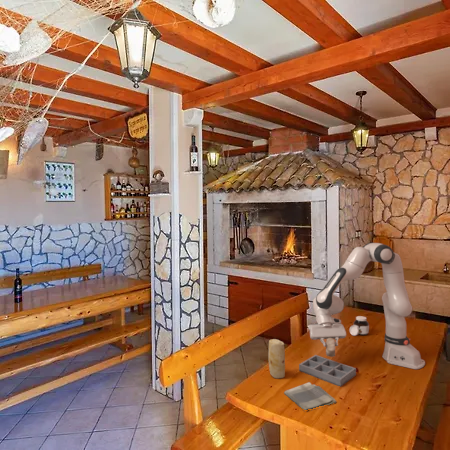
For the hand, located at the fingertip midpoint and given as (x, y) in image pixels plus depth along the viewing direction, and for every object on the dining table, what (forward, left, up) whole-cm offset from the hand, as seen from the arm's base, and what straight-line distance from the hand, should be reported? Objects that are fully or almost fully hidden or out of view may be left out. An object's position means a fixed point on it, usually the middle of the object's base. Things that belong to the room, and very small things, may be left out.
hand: (331, 345), depth 200 cm
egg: (0, 0, -5) cm, 5 cm away
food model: (+18, +25, -15) cm, 35 cm away
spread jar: (+13, -63, -15) cm, 66 cm away
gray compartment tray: (0, +3, -14) cm, 15 cm away
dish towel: (-7, +31, -15) cm, 36 cm away
